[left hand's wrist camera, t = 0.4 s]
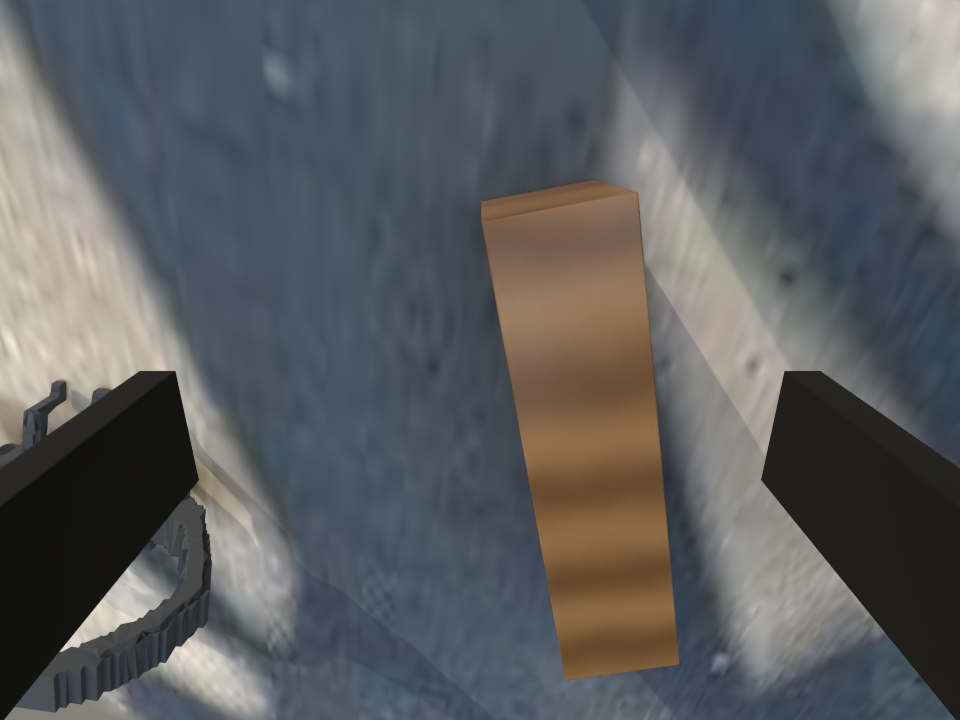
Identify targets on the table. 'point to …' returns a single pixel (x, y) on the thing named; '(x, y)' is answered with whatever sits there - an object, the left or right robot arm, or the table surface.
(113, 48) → the table surface
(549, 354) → the box
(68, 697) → the toy
